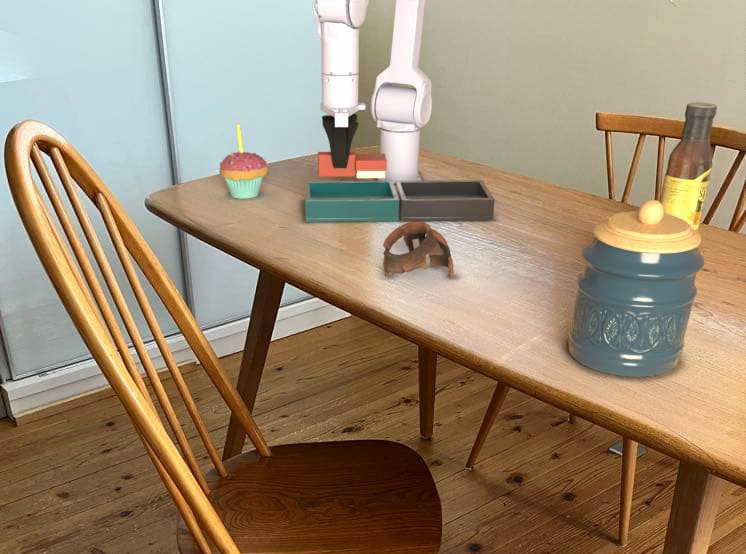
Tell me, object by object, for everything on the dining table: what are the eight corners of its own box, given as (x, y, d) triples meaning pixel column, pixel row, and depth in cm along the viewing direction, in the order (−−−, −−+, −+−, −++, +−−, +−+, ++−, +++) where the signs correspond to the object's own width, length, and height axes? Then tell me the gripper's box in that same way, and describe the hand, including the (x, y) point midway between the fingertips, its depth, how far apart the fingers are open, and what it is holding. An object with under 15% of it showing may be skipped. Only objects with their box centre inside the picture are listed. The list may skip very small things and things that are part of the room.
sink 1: (305, 201, 156) (304, 181, 154) (392, 201, 156) (392, 180, 154) (305, 222, 147) (305, 200, 145) (398, 221, 147) (399, 199, 145)
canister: (596, 324, 113) (623, 177, 103) (697, 352, 107) (736, 198, 96) (545, 358, 105) (569, 202, 95) (651, 390, 98) (688, 226, 88)
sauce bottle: (695, 255, 134) (730, 110, 122) (652, 252, 135) (682, 108, 123) (690, 242, 139) (723, 101, 127) (649, 239, 140) (677, 99, 128)
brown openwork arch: (464, 288, 124) (444, 242, 118) (401, 316, 127) (378, 272, 121) (449, 238, 132) (429, 193, 126) (389, 266, 134) (367, 222, 128)
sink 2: (394, 201, 156) (395, 180, 154) (480, 200, 157) (482, 179, 155) (400, 221, 147) (401, 199, 145) (492, 220, 148) (494, 199, 146)
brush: (318, 171, 150) (318, 149, 148) (384, 171, 150) (384, 149, 148) (318, 178, 146) (318, 156, 144) (386, 178, 146) (387, 156, 144)
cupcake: (214, 191, 161) (209, 118, 153) (259, 186, 163) (256, 114, 156) (230, 204, 154) (225, 129, 147) (277, 198, 157) (274, 124, 150)
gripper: (368, 81, 133) (366, 177, 141) (363, 65, 145) (361, 154, 153) (321, 81, 133) (321, 177, 141) (319, 65, 145) (320, 154, 153)
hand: (339, 165), depth 147 cm, fingers closed on brush, 2 cm apart
